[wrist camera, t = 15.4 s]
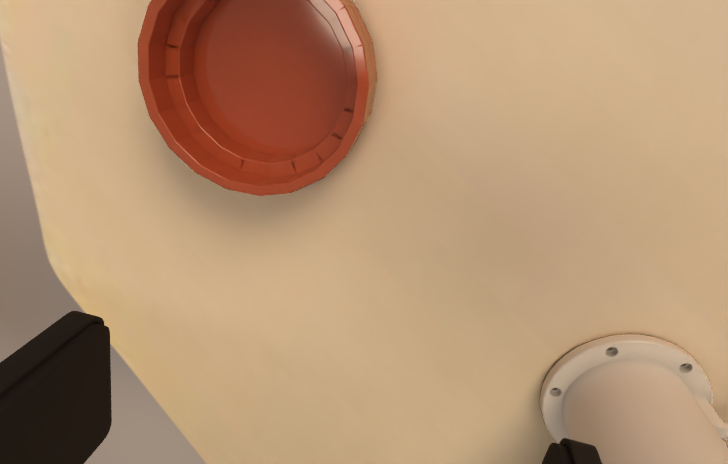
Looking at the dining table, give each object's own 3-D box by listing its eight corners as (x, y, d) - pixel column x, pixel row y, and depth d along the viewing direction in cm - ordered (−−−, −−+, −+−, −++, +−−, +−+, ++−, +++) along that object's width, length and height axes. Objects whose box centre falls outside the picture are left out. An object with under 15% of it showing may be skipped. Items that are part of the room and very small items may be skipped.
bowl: (394, -23, 31) (387, -29, 27) (358, 192, 37) (348, 214, 33) (173, -62, 32) (134, -73, 28) (172, 154, 38) (140, 171, 34)
